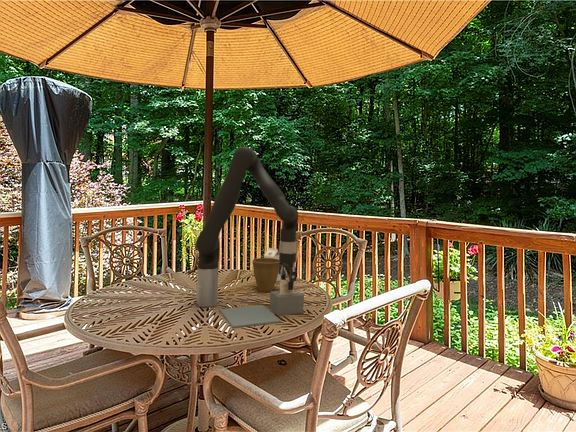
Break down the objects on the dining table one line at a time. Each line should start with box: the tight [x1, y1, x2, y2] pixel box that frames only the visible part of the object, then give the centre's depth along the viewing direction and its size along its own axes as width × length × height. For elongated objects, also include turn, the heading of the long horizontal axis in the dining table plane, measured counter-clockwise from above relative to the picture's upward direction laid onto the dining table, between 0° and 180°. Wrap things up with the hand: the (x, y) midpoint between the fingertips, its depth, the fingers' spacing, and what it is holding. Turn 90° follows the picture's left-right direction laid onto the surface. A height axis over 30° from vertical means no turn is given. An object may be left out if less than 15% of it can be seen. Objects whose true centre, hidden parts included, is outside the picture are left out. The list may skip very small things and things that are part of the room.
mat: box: [219, 304, 282, 329], centre depth 172 cm, size 20×22×1 cm
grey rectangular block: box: [269, 288, 305, 317], centre depth 180 cm, size 12×10×9 cm
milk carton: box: [263, 247, 281, 283], centre depth 233 cm, size 7×7×19 cm
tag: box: [279, 278, 295, 293], centre depth 180 cm, size 6×2×12 cm, turn 113°
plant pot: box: [251, 257, 280, 293], centre depth 213 cm, size 15×15×16 cm
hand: (286, 287), depth 180 cm, fingers open, 8 cm apart
